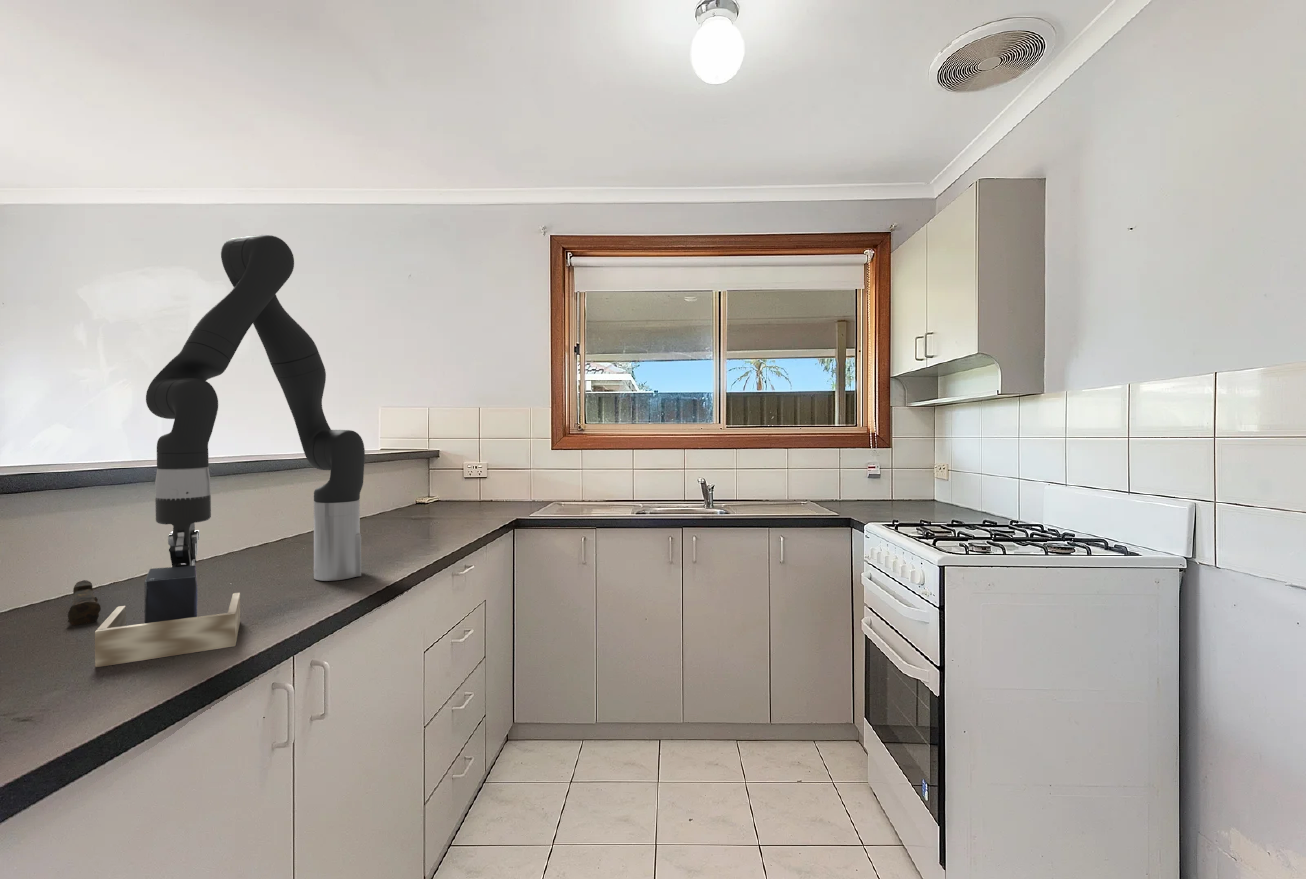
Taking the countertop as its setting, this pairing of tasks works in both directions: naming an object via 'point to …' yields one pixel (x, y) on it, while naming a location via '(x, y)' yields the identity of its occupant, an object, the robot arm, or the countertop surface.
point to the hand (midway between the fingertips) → (185, 593)
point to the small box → (171, 594)
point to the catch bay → (164, 636)
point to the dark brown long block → (83, 604)
